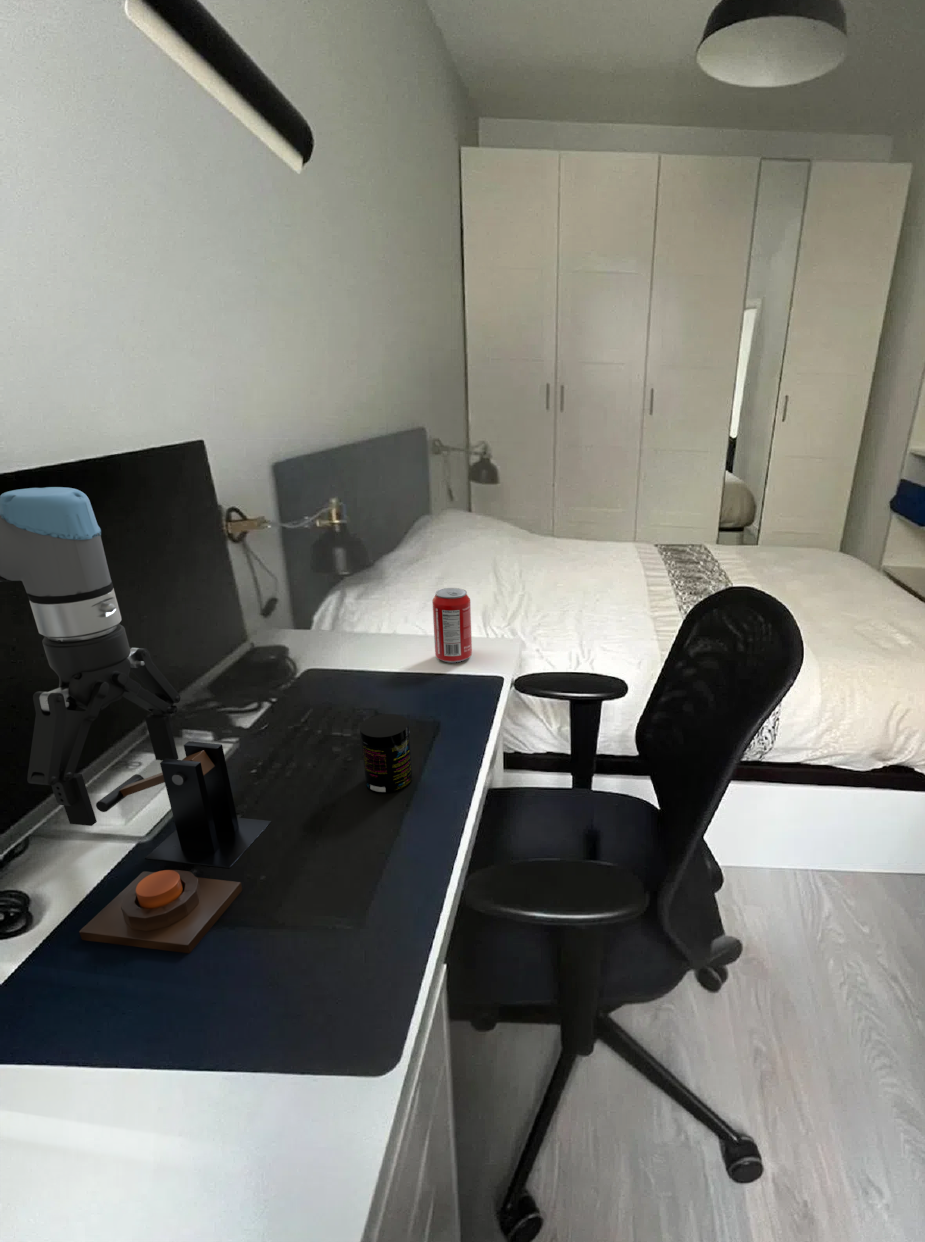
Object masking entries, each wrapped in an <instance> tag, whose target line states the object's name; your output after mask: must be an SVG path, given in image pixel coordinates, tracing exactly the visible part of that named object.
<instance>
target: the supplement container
mask: <svg viewBox="0 0 925 1242" xmlns="http://www.w3.org/2000/svg"><path fill="white" fill-rule="evenodd" d="M410 732H411V731H410V723H409V720H408V719H407V718H406V717H405V716H403V715H400V714H394V713H385V714H378V715H374V716H371V717H369V718H367V719H365V720H364V721H362V722H361V724H360V725H359V734H360V735H359V737H360V738H359V739H360V742H361V743H360V744H361V751H362V762H363V770H364V779H365V786H366V788H367V790H368V791H369V792H371V793H374V794H379V795H388V794H389V795H390V794H395V793H399V792H401V791H403V790H405V789H407V788H408V787H410V785H411V784H412V782H413V781H414V780H413V766H412V765H413V764H412V753H411V751H412V750H411V738H410V734H411V733H410Z"/></svg>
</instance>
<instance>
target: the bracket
mask: <svg viewBox="0 0 925 1242" xmlns="http://www.w3.org/2000/svg"><path fill="white" fill-rule="evenodd" d="M223 746H224V745H223V744H221V743H212V742H202V741H192V740H191V741H190V740H188V741H187V742H185V744H183V749H184V753H185V754H184V755H185V757H187V756H189V755H192V754H195V753H197V752H200V751H203V750H204V751H205V752H206V754H207V755H208V757H209V758H210V760H211V761H212V763H213V764H214V765H215V766H214V767H213V768H212V769H211V770H210V771H209V772H207V773H206V774H205V775H203V771H202V766H201V762H196V761H186V760H183V759H177V760H175V759H165V760H161V762H159V765H160V769H161V773H163V777H164V781H165V782H164V785H165V789H166V792H167V798H168V801H169V805H170V808H171V812H172V818H173V821H174V825H175V830H174V831H173V832H172V833H171V834H169V835H168V836H167V837H166V838H164V840H163V841H161V843H159V844H158V845H157V846H156V847H155V848H154V849H153V850H152V851H151V852H149V854H147V855H146V856H145V857H144V859H145V860H152V861H159V862H169V863H179V864H185V865H187V864H188V865H195V866H203V867H213V868H222V869H231V868H232V867H233V866H234V865H236V863H237V862H238V861H239V860H240V858H241V857H242V856H243V855H244V854H245V853H246V852H247V850H248V849H249V848H250V847H251V846H252V845H253V844H254V842H255V841H256V840H257V839H258V838H259V837H260V836H261V835H262V834H263V833H264V831H265V830H266V829H267V828H268V827H269V826H270V825H271V823H272V820H265V819H256V818H245V817H238V816H237V811H236V806H235V802H234V797H233V791H232V786H231V782H230V776H229V771H228V766H227V762H226V757H225V752H224V747H223Z"/></svg>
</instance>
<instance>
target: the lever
mask: <svg viewBox="0 0 925 1242" xmlns="http://www.w3.org/2000/svg"><path fill="white" fill-rule="evenodd" d="M182 760H186V761H196V762H201V766H202V771H203V775H205V774H206V773H207V772H209V771H210V770H211V769H212V768H213V767H214V766H215V765H214V764H213V763H212V761H211V760H210V758H209V757H208V755H207V754H206V752H205V751H204V750H203V751H200V752H197V753H195V754H192V755H189V756H187V757H186V756H185V757H184V758H182ZM162 784H165V781H164V777H163V773H162V772H160V773H157V774H154V775H152V776H151V775H150V776H148V777H146V778H144V777H143V775H141V774H138V773H136V774H133V775H132V776H131V777H129V778H128V779H126V780H125V781H124V782H122V783H121V784H120V785H118V786H117V787H116V788H114V789H113V790H112V791H110V792H108V793H107V794H106V795H104V797H102V798H101V799H99V800H98V801H97V802H96V803H95V807H96V810H97V811H99V812H102V813H106V812H108V811H110V810H112V808H113V807H115V806H116V805H117V804H119V803H120V802H121V801H122V800H124V799H125V798H127V797H128V796H130V795H133V794H136V793H139V792H142V791H145V790H147V789H150V788H153V787H156V786H158V785H162Z"/></svg>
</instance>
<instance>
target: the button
mask: <svg viewBox="0 0 925 1242" xmlns="http://www.w3.org/2000/svg"><path fill="white" fill-rule="evenodd" d="M172 870H173V869H164V870H159V871H154V872H155V873H153V874H151V875H149V876H147V877H145V878H144V879H142V880H141V881H140V882H139V883H138V885H137V887H136V894H137V898H138V901H139V904H140V906H141V907H143V908H145V909H154V908H158V907H162V906H165V905H167V904H169V903H171V902H172V901H174V900H176V899H177V898H178V897H179V896H180V895H181V893H182V890H183V888H182V884H181V880H180V876H179V874H178V873H177V872H175V871H172Z"/></svg>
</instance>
